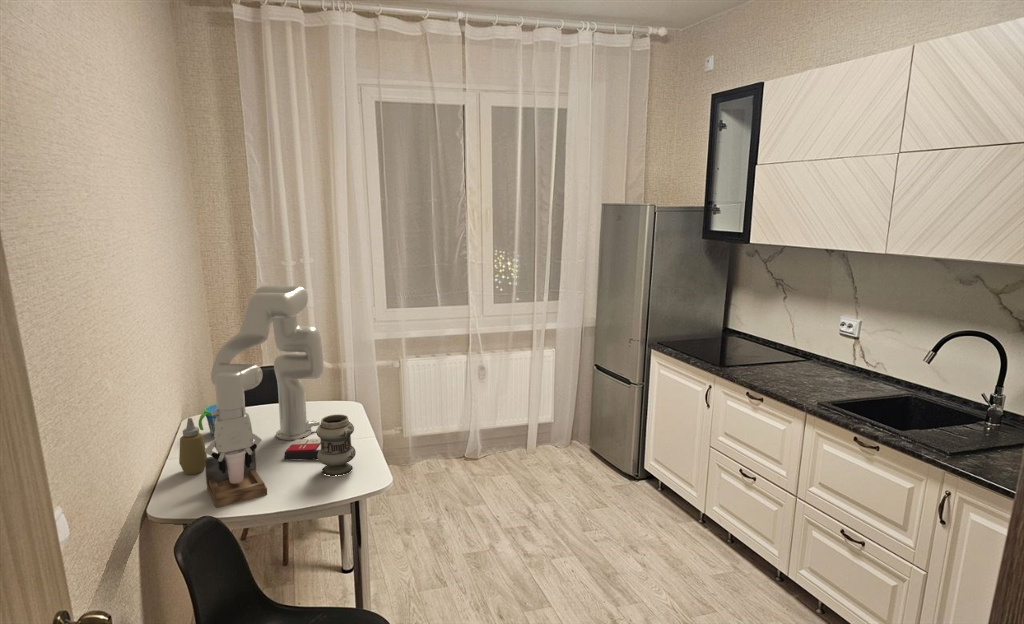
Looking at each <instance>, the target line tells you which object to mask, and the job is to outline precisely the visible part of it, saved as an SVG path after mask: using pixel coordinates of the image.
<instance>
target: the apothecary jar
mask: <svg viewBox="0 0 1024 624" xmlns="http://www.w3.org/2000/svg"><path fill="white" fill-rule="evenodd" d="M315 431H316V432H315V433H316V435H317V438H320V439H321V450H320V451H319V452H318V455H317V458H318V462H320V464H323V465H325V466H324V467H322V469H321V470H322V471H321V474H322V473H323V474H326V475H330V476H335V475H337V476H338V475H343V474H346V475H348V474H350V473H351V472H352V471H353V470H354V468H353V465H351V464H350V462H351V461H352V460H353V459H354V458H355V456H356V449H355V447H354V446H353V445H352V436H351V435H352V434H353V433H354V431H355V426H354V425H353V423H352V422H351V421H349V417H348V415H345V414H339V413H338V414H331V415H326V416H324V417H322V418H321V420H320V425H319V426H317V428H316V430H315ZM351 470H352V471H351ZM350 471H351V472H350ZM349 472H350V473H349ZM347 473H348V474H347ZM323 474H322V475H323ZM343 476H344V475H343ZM338 477H339V476H338Z"/></svg>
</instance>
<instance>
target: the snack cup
mask: <svg viewBox="0 0 1024 624" xmlns="http://www.w3.org/2000/svg"><path fill="white" fill-rule="evenodd" d="M216 408H217V403H216V404H215V403H214V404H210V405H209V406H207V407H205V408H204V409H203V412H202V413H201V414H200V416H199V419H198V428H199V430H201V431H204V427H203V419H204V418H206V421H207V425H208V430H209V432H210V434H211V436H214V425H215V418H216V417H217V416H212V412H213V411H216Z"/></svg>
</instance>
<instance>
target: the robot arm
mask: <svg viewBox="0 0 1024 624" xmlns="http://www.w3.org/2000/svg"><path fill="white" fill-rule="evenodd" d="M254 293H255V294H253V295H252V296H250V298H249V300H248V303H247V305H246V308H245V309H246V310H245V312H244V317H243V319H242V321H241V326H240V329H239V330H238V333H237V334H235V335H233V336H232V337H231V338H229V339H228V341H226V342H225V343H224V344H223V345H222V346H221V347H220V349H219V350H218V351H217V353H216V356H215V359H214V362H213V364H212V368H211V372H210V381H211V384H212V385H213V386H214V387H215V389H214V390H215V400H216V404H217V408H216V411H213V412H212V416H217V417H216V418H215V425H214V435H213V440H212V441H211V442H210V443H209V444H208V446H207V447H205V452H206V454H207V455H208V456H209V457H213V458H215V459H217V460H218V465H219V470H221V471H222V473H223V474H224V473H226V470H225V461H224V459H223V458H224V455H225V453H227V452H232V451H236V450H241V449H246V453H245V465H246V466H247V468H250V463H252V460H251V454H252V452H253V451H254V450H255V451H256V449H257V447H258V446H259V445H260V444H261V442H262V438H261V437H260V436H258V435H256V434H255V433H253V428H252V422H251V418H250V414H249V413H248V412H246V400H245V391H248V390H253V389H255V388H256V387H258V386H259V385H260V383H261V382H262V380H263V375H264V374H263V370H262V368H261V367H260V366H258V365H257V364H252V363H231V362H232V361H233V359H234V358H235V357H236V356H238V355H239V354H240V353H242V352H245V351H247V350H250V349H252V348H255V347H258V346H259V345H262V344H264V343H265V342H266V341H267V340H268V337H269V333H270V329H271V327H273V335H274V336H273V338H274V342H275V347H276V349H278V351H281V352H285V353H281V354H279V355H277V356H276V358H274V361H273V369H274V374H275V377H276V381H277V382H276V384H277V393H278V410H279V412H278V413H279V428H280V429H278V430H277V431H276V432H275V433H276V436H275V437H276V438H278V439H280V440H283V441H292V440H293V441H295V440H296V439H304V438H306V437H308V436H310V435H311V433H312V427H318V426H319V425H321V421H320V420H314V419H312V420H308V419H307V403H306V401H307V400H306V387H305V385H304V384H303V382H302V380H313V379H315V380H316V379H319V378H320V377H322V375H323V373H324V357H323V347H322V345H323V344H322V336H321V334H320V332H319V330H318V328H316V327H315V326H310V325H309V326H308V325H305V326H304V325H302V326H301V325H299V323H298V316H297V314H299V313H301V312H302V311H303V310H304V309H305V308H306V306H307V304H308V301H309V296H308V295H309V294H308V292H307V290H306V289H305V288H304V287H303V286H299V285H261V286H259V287H258V288H257V289H256V290H255V292H254ZM303 437H304V438H303ZM214 448H215V449H216V451H214V450H213V449H214Z"/></svg>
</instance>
